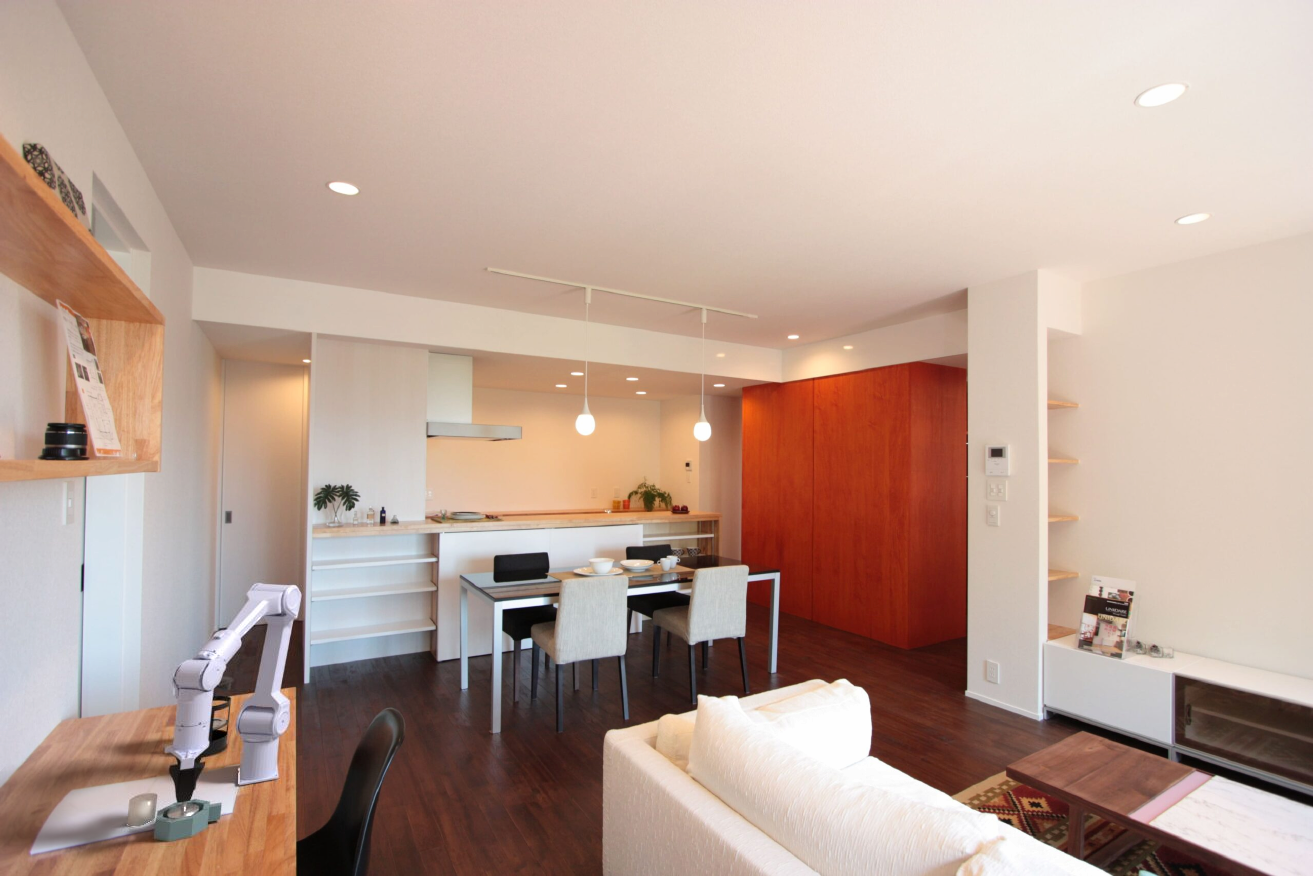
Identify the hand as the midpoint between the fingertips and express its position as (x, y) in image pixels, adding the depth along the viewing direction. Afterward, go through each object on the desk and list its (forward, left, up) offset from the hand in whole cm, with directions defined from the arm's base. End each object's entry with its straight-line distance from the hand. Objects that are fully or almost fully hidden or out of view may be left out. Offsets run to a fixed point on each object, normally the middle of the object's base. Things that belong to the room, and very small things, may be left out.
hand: (185, 792), depth 125 cm
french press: (-41, +2, -7) cm, 42 cm away
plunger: (0, 0, -4) cm, 4 cm away
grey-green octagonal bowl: (0, 0, -7) cm, 7 cm away
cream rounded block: (-7, -7, -7) cm, 12 cm away
